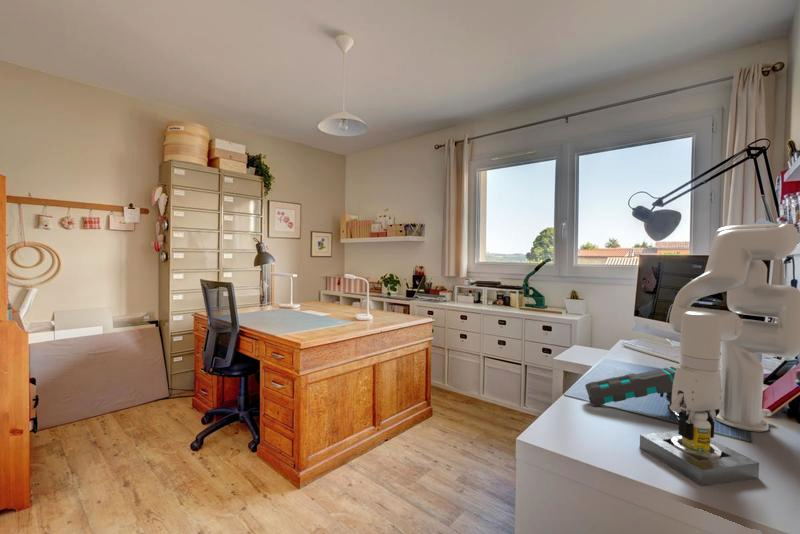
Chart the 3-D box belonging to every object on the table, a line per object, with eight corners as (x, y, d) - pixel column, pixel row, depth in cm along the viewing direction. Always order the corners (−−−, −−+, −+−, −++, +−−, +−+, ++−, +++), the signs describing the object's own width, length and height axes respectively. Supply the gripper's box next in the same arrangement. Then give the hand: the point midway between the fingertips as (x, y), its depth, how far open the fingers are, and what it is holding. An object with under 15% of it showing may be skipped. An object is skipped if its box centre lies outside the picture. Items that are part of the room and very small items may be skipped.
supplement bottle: (693, 443, 92) (694, 405, 92) (715, 454, 87) (717, 414, 86) (676, 445, 91) (677, 407, 90) (698, 456, 85) (699, 416, 85)
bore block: (689, 442, 98) (690, 427, 98) (758, 477, 83) (759, 460, 82) (639, 447, 95) (640, 432, 95) (701, 485, 79) (702, 468, 79)
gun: (700, 413, 113) (685, 367, 113) (601, 431, 119) (587, 387, 120) (689, 405, 119) (674, 361, 120) (595, 423, 125) (582, 381, 126)
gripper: (711, 357, 93) (708, 426, 94) (655, 360, 90) (652, 431, 91) (744, 366, 86) (740, 441, 87) (685, 369, 83) (681, 447, 83)
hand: (695, 435), depth 89 cm, fingers closed on supplement bottle, 5 cm apart
